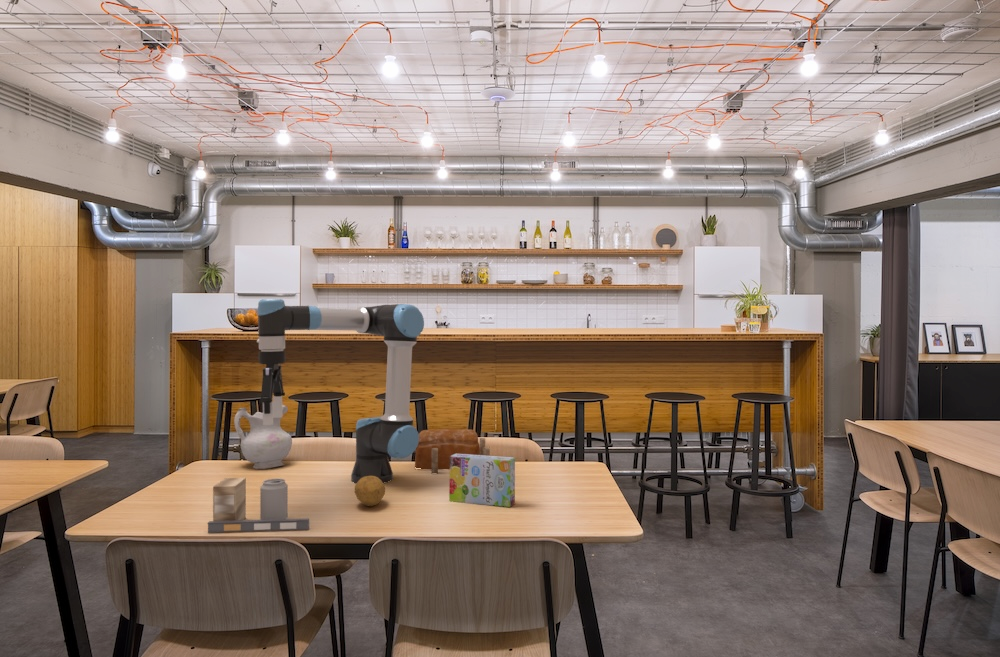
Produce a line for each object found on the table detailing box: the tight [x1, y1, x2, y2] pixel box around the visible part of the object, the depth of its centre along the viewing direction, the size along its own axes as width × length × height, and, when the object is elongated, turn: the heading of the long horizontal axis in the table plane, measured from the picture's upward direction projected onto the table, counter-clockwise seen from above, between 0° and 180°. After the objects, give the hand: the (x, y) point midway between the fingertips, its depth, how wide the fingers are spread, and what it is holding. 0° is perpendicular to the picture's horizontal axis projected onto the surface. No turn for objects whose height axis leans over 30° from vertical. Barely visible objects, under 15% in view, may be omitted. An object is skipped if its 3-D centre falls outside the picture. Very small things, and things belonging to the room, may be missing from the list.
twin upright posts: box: [431, 437, 491, 474], centre depth 255 cm, size 22×22×10 cm
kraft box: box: [212, 477, 247, 521], centre depth 183 cm, size 6×10×12 cm, turn 6°
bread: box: [414, 428, 480, 469], centre depth 256 cm, size 14×26×16 cm, turn 94°
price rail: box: [207, 517, 310, 534], centre depth 177 cm, size 27×2×3 cm, turn 96°
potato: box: [354, 476, 387, 507], centre depth 202 cm, size 10×13×9 cm
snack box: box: [448, 454, 516, 508], centre depth 206 cm, size 21×6×15 cm, turn 71°
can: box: [259, 478, 289, 520], centre depth 186 cm, size 8×8×12 cm
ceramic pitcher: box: [233, 404, 293, 470], centre depth 255 cm, size 22×20×25 cm
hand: (273, 421), depth 192 cm, fingers open, 13 cm apart
